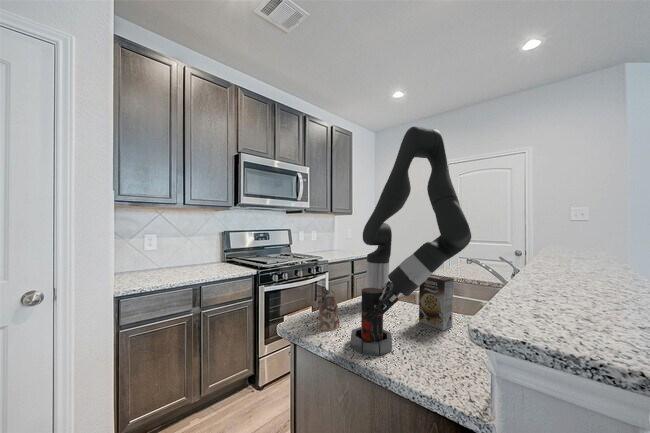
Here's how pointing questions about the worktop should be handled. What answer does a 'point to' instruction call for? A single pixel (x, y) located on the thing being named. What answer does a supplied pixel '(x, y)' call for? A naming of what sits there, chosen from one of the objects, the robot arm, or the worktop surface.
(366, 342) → the collar ring
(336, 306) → the figurine
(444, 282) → the coffee box
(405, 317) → the worktop surface
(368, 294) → the deodorant
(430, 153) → the robot arm
